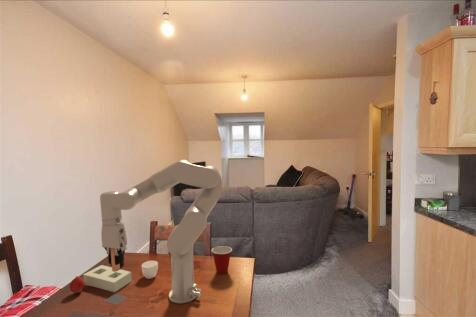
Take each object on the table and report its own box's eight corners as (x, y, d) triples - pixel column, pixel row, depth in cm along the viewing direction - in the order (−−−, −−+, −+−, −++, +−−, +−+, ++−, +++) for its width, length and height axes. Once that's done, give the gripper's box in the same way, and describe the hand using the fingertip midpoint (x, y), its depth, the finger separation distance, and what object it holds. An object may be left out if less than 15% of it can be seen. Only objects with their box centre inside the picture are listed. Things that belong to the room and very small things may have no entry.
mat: (128, 298, 112) (128, 297, 112) (117, 306, 106) (116, 305, 106) (114, 294, 115) (114, 293, 115) (103, 301, 109) (103, 301, 109)
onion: (68, 298, 112) (67, 280, 112) (72, 290, 118) (71, 274, 117) (83, 295, 114) (82, 278, 113) (86, 288, 119) (85, 272, 119)
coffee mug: (113, 262, 145) (113, 245, 144) (128, 262, 145) (128, 245, 144) (102, 273, 134) (101, 254, 133) (118, 273, 133) (117, 254, 133)
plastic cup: (234, 266, 138) (233, 245, 137) (230, 277, 127) (230, 254, 127) (214, 265, 140) (214, 244, 139) (209, 275, 129) (208, 252, 128)
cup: (139, 281, 125) (139, 267, 125) (147, 270, 135) (146, 258, 135) (155, 281, 125) (154, 267, 125) (161, 270, 135) (161, 258, 135)
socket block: (131, 281, 125) (131, 271, 124) (114, 293, 115) (114, 282, 115) (102, 274, 132) (101, 264, 132) (83, 284, 123) (83, 274, 123)
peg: (121, 268, 110) (119, 246, 110) (115, 272, 108) (113, 249, 107) (116, 267, 112) (114, 245, 111) (110, 271, 109) (108, 248, 108)
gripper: (133, 219, 108) (136, 261, 110) (105, 216, 115) (109, 256, 116) (119, 225, 102) (122, 270, 103) (90, 222, 108) (94, 264, 109)
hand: (115, 262), depth 109 cm, fingers closed on peg, 3 cm apart
